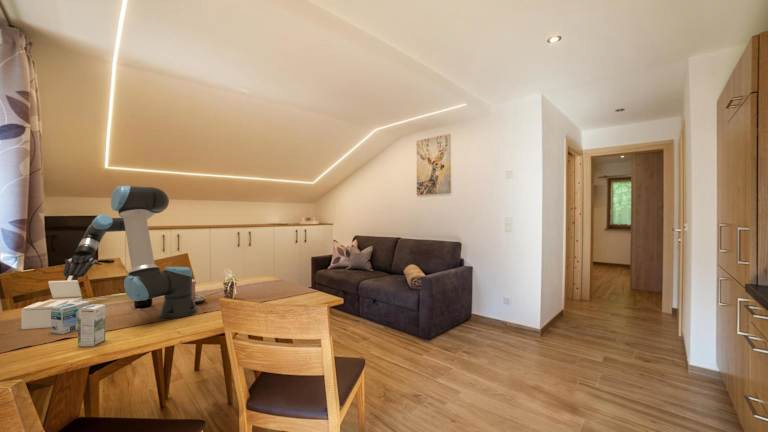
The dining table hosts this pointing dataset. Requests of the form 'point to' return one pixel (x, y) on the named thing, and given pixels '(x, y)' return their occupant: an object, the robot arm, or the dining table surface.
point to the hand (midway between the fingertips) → (66, 288)
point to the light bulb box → (66, 317)
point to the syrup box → (91, 325)
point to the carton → (42, 313)
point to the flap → (65, 288)
